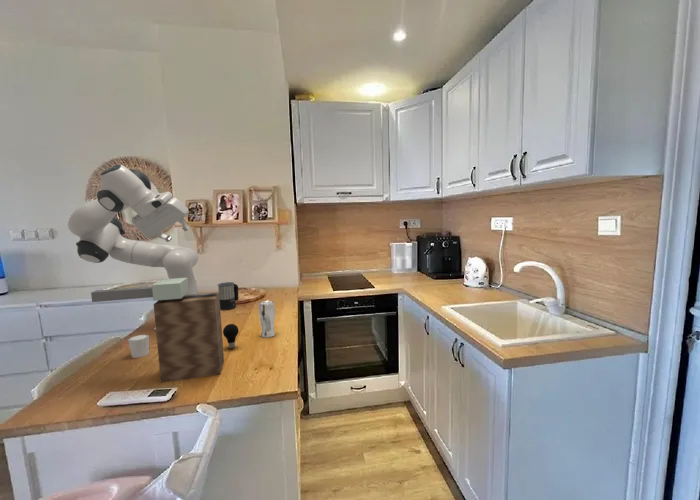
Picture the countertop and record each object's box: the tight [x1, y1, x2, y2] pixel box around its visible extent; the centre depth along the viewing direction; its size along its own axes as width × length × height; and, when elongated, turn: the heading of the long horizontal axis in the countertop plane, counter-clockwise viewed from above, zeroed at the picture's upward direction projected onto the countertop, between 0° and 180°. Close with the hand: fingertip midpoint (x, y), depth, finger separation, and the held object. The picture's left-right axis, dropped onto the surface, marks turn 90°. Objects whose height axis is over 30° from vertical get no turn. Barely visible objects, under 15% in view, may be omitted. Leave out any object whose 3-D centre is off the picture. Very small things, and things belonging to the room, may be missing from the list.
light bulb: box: [222, 323, 239, 349], centre depth 128 cm, size 6×6×10 cm
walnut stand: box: [153, 291, 225, 383], centre depth 108 cm, size 18×10×27 cm, turn 105°
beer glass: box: [258, 300, 276, 339], centre depth 141 cm, size 7×7×15 cm
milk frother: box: [217, 281, 239, 311], centre depth 189 cm, size 14×16×15 cm
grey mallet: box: [90, 278, 189, 303], centre depth 103 cm, size 26×10×5 cm, turn 105°
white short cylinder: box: [127, 334, 150, 359], centre depth 124 cm, size 7×7×7 cm
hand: (178, 235), depth 119 cm, fingers open, 8 cm apart
